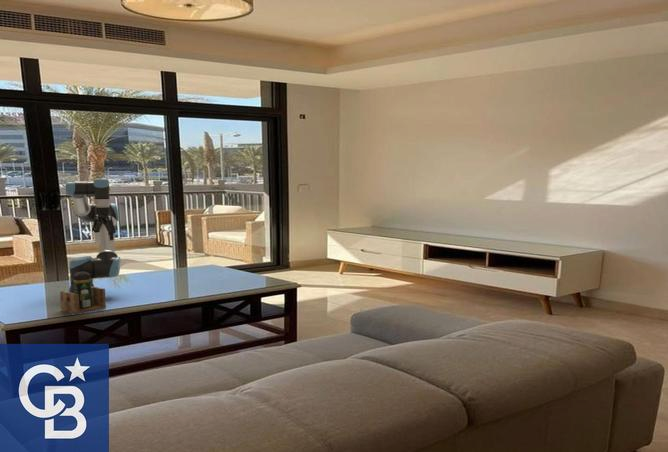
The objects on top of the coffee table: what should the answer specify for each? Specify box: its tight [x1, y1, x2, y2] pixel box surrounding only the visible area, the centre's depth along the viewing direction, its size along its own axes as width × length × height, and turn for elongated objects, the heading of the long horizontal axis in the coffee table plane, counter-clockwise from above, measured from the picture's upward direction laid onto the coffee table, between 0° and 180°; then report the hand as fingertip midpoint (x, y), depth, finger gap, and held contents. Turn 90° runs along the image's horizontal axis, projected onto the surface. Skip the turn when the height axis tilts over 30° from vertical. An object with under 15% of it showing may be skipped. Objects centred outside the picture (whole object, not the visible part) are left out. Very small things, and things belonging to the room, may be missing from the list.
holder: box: [59, 286, 107, 315], centre depth 266 cm, size 14×18×10 cm
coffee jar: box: [74, 271, 92, 309], centre depth 266 cm, size 10×8×19 cm
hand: (104, 245), depth 281 cm, fingers open, 13 cm apart
